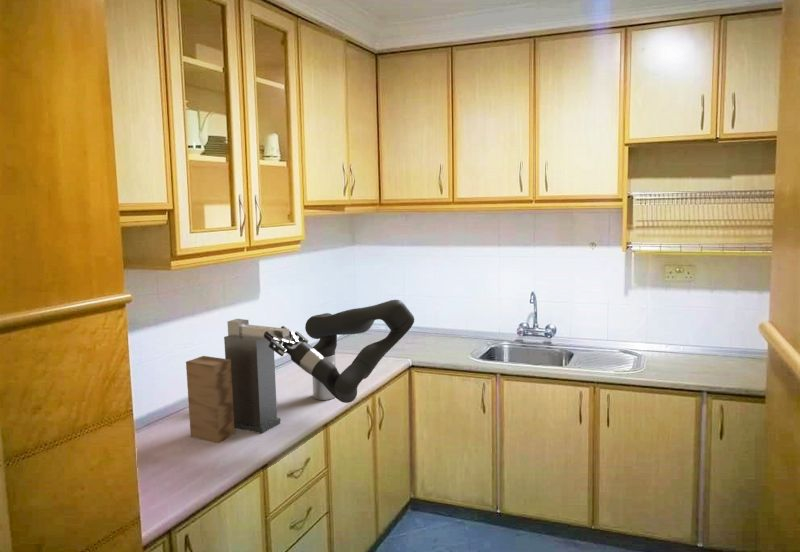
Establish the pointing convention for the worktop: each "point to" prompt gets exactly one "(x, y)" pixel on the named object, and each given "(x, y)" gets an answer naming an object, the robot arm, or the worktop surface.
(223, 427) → the block
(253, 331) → the lever
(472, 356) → the worktop surface
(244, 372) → the tall dark grey pillar
